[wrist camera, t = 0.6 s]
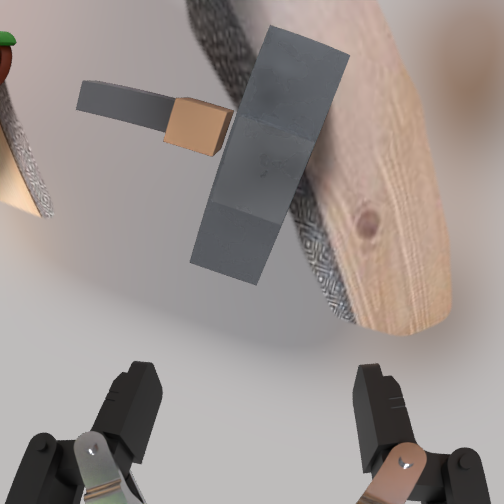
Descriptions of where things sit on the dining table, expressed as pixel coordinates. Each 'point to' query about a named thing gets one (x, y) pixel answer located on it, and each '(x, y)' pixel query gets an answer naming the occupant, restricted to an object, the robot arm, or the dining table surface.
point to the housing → (267, 152)
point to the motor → (5, 54)
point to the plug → (160, 114)
